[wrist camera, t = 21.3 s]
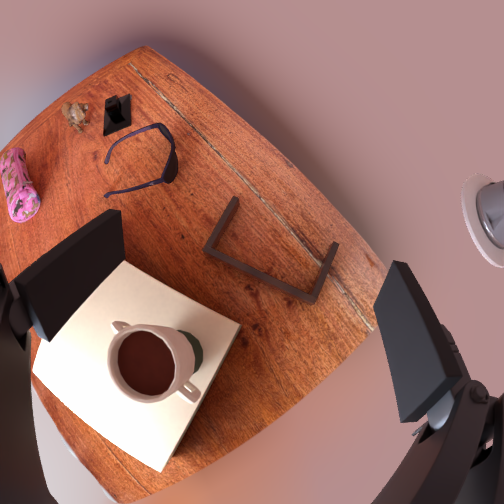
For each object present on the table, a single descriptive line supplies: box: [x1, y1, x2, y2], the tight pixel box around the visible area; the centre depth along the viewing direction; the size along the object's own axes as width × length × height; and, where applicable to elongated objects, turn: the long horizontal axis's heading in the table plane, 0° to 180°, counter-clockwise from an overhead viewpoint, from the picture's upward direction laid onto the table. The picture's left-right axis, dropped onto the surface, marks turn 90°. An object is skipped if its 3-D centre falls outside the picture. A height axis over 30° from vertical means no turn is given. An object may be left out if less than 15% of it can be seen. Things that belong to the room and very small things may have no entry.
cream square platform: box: [32, 260, 242, 472], centre depth 35 cm, size 27×26×6 cm
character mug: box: [107, 321, 203, 404], centre depth 26 cm, size 11×7×13 cm, turn 51°
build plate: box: [103, 94, 132, 136], centre depth 50 cm, size 12×7×5 cm, turn 18°
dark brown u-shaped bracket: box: [202, 196, 339, 306], centre depth 41 cm, size 18×10×2 cm, turn 64°
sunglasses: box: [104, 123, 178, 198], centre depth 45 cm, size 14×16×5 cm
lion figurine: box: [62, 102, 89, 133], centre depth 48 cm, size 15×5×9 cm, turn 60°
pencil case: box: [0, 147, 41, 223], centre depth 43 cm, size 21×9×9 cm, turn 44°
